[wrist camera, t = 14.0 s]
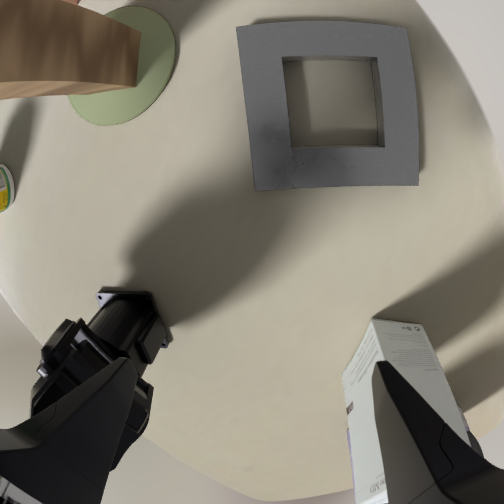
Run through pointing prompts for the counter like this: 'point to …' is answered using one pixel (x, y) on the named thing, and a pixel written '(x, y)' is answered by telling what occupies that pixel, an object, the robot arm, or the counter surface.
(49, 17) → the walnut block
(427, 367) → the skincare box
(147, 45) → the olive mat
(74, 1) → the terracotta cubby
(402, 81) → the hole plate
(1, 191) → the supplement bottle
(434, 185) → the counter surface
